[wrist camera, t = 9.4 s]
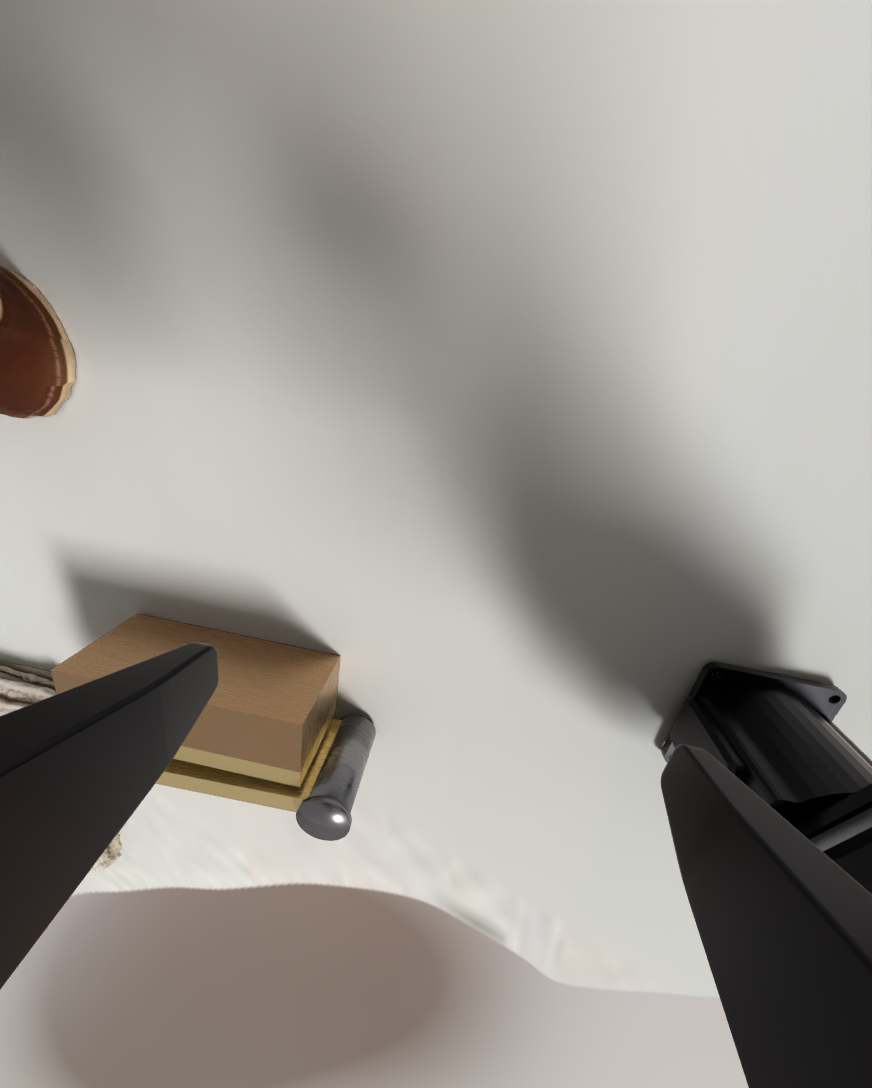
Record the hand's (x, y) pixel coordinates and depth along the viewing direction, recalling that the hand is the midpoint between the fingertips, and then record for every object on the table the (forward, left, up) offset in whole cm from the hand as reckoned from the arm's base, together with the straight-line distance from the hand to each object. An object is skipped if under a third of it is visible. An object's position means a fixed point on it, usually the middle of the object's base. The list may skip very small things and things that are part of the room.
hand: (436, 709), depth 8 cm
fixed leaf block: (+11, +11, -12) cm, 20 cm away
